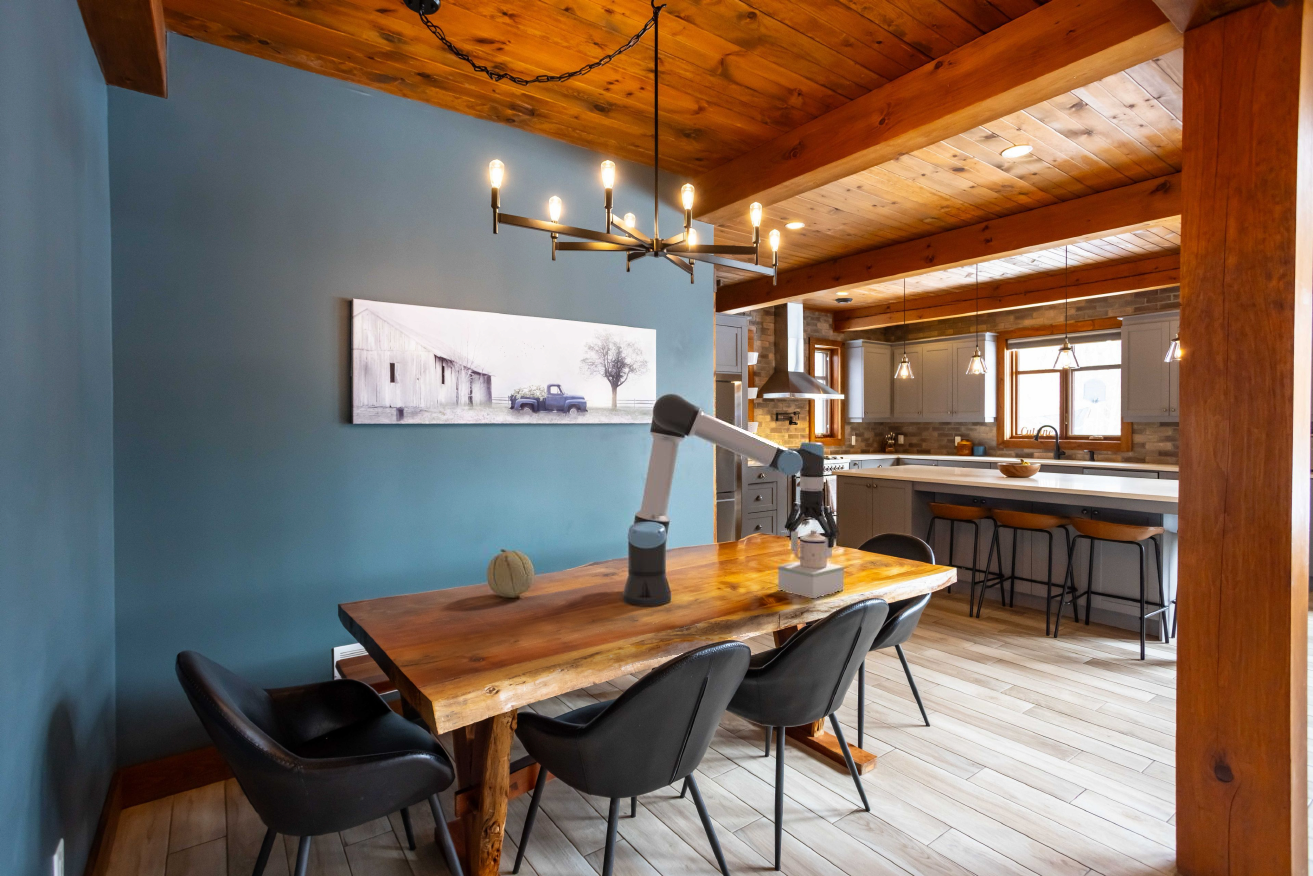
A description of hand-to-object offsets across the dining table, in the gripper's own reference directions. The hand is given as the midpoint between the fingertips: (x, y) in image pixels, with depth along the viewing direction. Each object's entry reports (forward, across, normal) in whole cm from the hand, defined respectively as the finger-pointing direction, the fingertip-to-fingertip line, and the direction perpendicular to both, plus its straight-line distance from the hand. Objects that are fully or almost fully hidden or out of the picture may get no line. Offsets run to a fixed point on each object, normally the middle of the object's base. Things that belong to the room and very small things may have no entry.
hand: (810, 554), depth 217 cm
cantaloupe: (+13, +55, +80) cm, 98 cm away
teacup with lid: (+4, 0, 0) cm, 4 cm away
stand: (+12, 0, 0) cm, 12 cm away
